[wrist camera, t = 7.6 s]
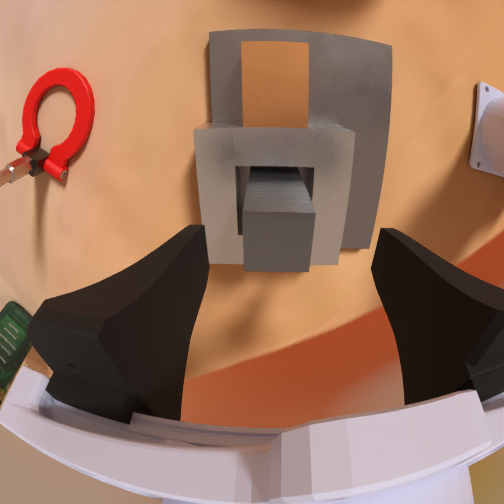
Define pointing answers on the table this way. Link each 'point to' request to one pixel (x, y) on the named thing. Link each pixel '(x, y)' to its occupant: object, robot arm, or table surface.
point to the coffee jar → (12, 343)
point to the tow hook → (33, 155)
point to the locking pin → (277, 221)
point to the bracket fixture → (295, 132)
